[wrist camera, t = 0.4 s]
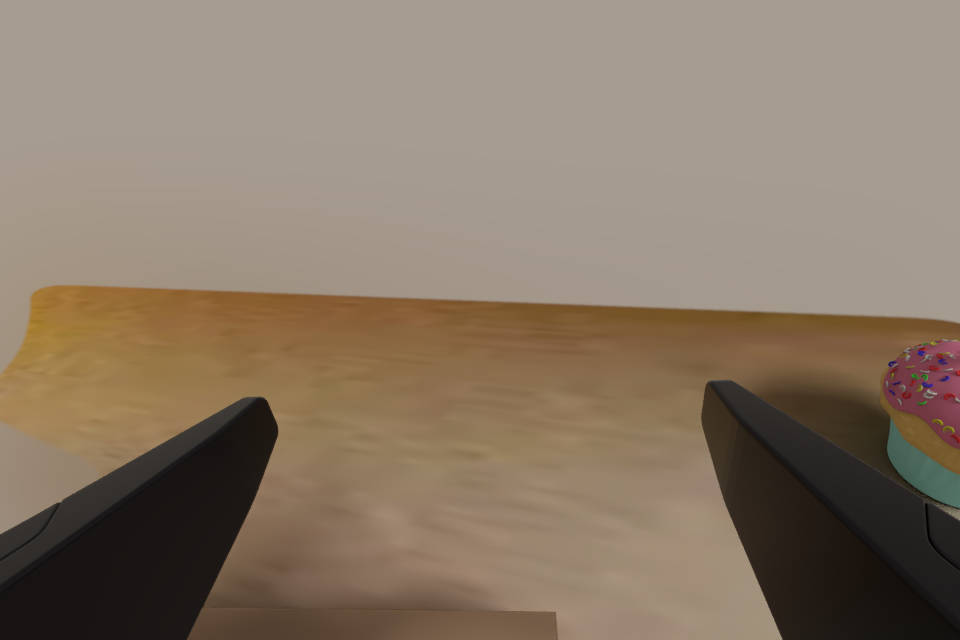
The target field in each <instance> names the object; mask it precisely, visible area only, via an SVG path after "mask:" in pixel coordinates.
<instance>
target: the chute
mask: <svg viewBox="0 0 960 640" xmlns="http://www.w3.org/2000/svg"><path fill="white" fill-rule="evenodd" d="M187 640H558V634H557V621H556V612H526V611H450V610H374V609H298V608H222V607H203V608H202V610H201V612H200V614H199V616H198V618H197V620H196V622H195V624H194V626H193V628H192V630H191V632H190V634H189V637H188V639H187Z"/></svg>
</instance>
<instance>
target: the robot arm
mask: <svg viewBox="0 0 960 640" xmlns="http://www.w3.org/2000/svg"><path fill="white" fill-rule="evenodd" d="M701 419H702V426H703V430H704V434H705V437H706V441H707V444H708V448H709V451H710V454H711V458H712V461H713V465H714V468H715V472H716V475H717V479H718V482H719V486H720V489H721V492H722V495H723V499H724V501H725V504H726V507H727V509H728V512H729V514H730V517H731V519H732V521H733V524H734V526H735V528H736V531H737V533H738V535H739V538H740V540H741V543H742V545H743V547H744V550H745V552H746V554H747V557H748V559H749V561H750V564H751V566H752V569H753V571H754V573H755V576H756V578H757V580H758V583H759V585H760V587H761V590H762V592H763V595H764V597H765V599H766V602H767V604H768V606H769V609H770V611H771V613H772V616H773V618H774V621H775V623H776V625H777V628H778V630H779V632H780V635H781V637H782V639H783V640H960V520H958V519H956V518H955V517H953V516H951V515H950V514H948V513H947V512H945V511H943V510H942V509H940V508H938V507H937V506H935V505H934V504H932V503H925V500H924V499H923V498H922V497H920V496H919V495H917V494H915V493H914V492H912V491H911V490H909V489H907V488H906V487H904V486H902V485H901V484H899V483H898V482H896V481H894V480H893V479H891V478H889V477H888V476H886V475H885V474H883V473H881V472H880V471H878V470H877V469H875V468H873V467H872V466H870V465H868V464H867V463H865V462H864V461H862V460H860V459H859V458H857V457H855V456H854V455H852V454H851V453H849V452H847V451H846V450H844V449H842V448H841V447H839V446H838V445H836V444H834V443H833V442H831V441H829V440H828V439H826V438H825V437H823V436H821V435H820V434H818V433H816V432H815V431H813V430H812V429H810V428H808V427H807V426H805V425H804V424H802V423H800V422H799V421H797V420H795V419H794V418H792V417H791V416H789V415H787V414H786V413H784V412H782V411H781V410H779V409H778V408H776V407H774V406H773V405H771V404H769V403H768V402H766V401H765V400H763V399H761V398H760V397H758V396H756V395H755V394H753V393H752V392H750V391H748V390H747V389H745V388H743V387H742V386H740V385H739V384H737V383H735V382H733V381H731V380H714V381H709V382H708V383H707V384H706V387H705V393H704V400H703V407H702V415H701ZM277 436H278V425H277V423H276V420H275V418H274V416H273V413H272V411H271V409H270V406H269V404H268V402H267V400H266V399H265V398H263V397H245V398H242V399H240V400H239V401H237V402H235V403H233V404H232V405H230V406H228V407H226V408H225V409H223V410H221V411H219V412H217V413H216V414H214V415H212V416H210V417H209V418H207V419H205V420H203V421H201V422H200V423H198V424H196V425H194V426H193V427H191V428H189V429H187V430H186V431H184V432H182V433H180V434H178V435H177V436H175V437H173V438H171V439H170V440H168V441H166V442H164V443H162V444H161V445H159V446H157V447H155V448H154V449H152V450H150V451H148V452H147V453H145V454H143V455H141V456H139V457H138V458H136V459H134V460H132V461H131V462H129V463H127V464H125V465H123V466H122V467H120V468H118V469H116V470H115V471H113V472H111V473H109V474H108V475H106V476H104V477H102V478H100V479H99V480H97V481H95V482H93V483H92V484H90V485H88V486H86V487H85V488H83V489H81V490H79V491H77V492H76V493H74V494H72V495H70V496H69V497H67V498H65V499H63V500H62V502H61V503H56V504H54V505H52V506H51V507H49V508H47V509H45V510H44V511H42V512H40V513H38V514H37V515H35V516H33V517H31V518H30V519H28V520H26V521H24V522H22V523H20V524H19V525H17V526H15V527H13V528H11V529H9V530H8V531H6V532H4V533H2V534H0V640H187V639H188V637H189V634H190V632H191V630H192V628H193V626H194V624H195V622H196V620H197V618H198V616H199V614H200V612H201V610H202V608H203V606H204V603H205V601H206V599H207V597H208V595H209V593H210V591H211V589H212V587H213V585H214V583H215V581H216V579H217V577H218V574H219V572H220V570H221V568H222V566H223V564H224V562H225V560H226V558H227V556H228V554H229V552H230V550H231V548H232V545H233V543H234V541H235V539H236V537H237V535H238V533H239V531H240V529H241V527H242V525H243V523H244V521H245V519H246V517H247V514H248V512H249V510H250V508H251V506H252V504H253V501H254V499H255V496H256V494H257V491H258V489H259V486H260V483H261V481H262V478H263V475H264V472H265V470H266V467H267V464H268V461H269V459H270V456H271V453H272V451H273V448H274V445H275V442H276V440H277Z"/></svg>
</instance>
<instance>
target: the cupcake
mask: <svg viewBox="0 0 960 640" xmlns="http://www.w3.org/2000/svg"><path fill="white" fill-rule="evenodd" d="M888 365H889V366H888V367H887V369H886V370H885V371H884V373H883V374H882V377H881V381H880V382H881V392H880V403H881V405H882V407H883V408H884V409H885V410H886V411H887V412H888V414H889V415H890V417H891V422H890V432H889V438H888V443H887V452H888V456H889V459H890V461H891V463H892V464H893V466H894V467H895V469H896V470H897V471H898V473H899V474H900V475H901V476H902V477H903V478H904V479H905V480H906V481H908V482H909V483H910V484H911V485H912V486H914V487H915V488H917V489H918V490H919V491H921V492H923V493H924V494H926V495H928V496H930V497H931V498H933V499H936V500H938V501H940V502H942V503H945V504H948V505H951V506H954V507H957V508H960V340H954V341H953V340H944V339H941V340H940V341H939V342H931V343H930V344H929V343H923V344H922V345H921V344H920V345H918V346H916V347H913V348H912V349H910V348H907V349H905V350H904V351H903V354H901V355H900V356H899V357H898V358H897V359H895V360H894V361H892V362H890V363H889V364H888Z"/></svg>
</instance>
